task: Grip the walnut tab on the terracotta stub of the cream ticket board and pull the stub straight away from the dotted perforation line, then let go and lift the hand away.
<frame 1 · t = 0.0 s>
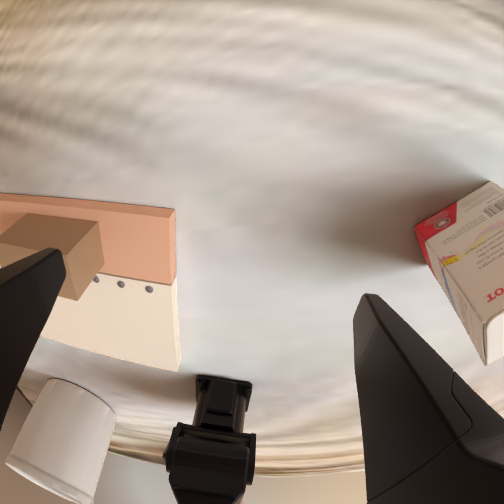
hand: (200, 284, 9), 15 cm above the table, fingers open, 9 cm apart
ink box: (459, 221, 22), on the table
stub: (53, 248, 23), point 3 cm above the table, slide at 0.0 cm
ticket board: (89, 306, 30), on the table
utensil holder: (81, 402, 44), on the table
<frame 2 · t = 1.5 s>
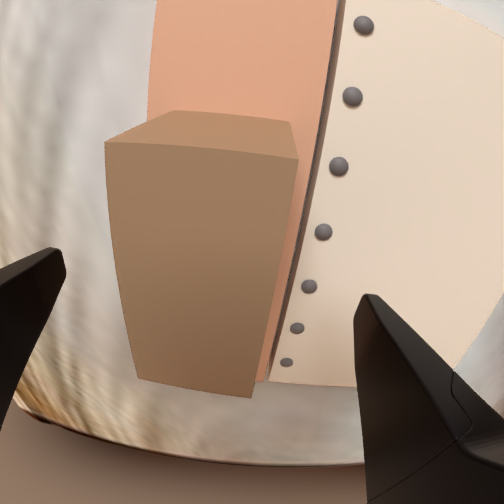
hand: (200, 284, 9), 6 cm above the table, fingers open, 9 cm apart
stub: (212, 241, 11), point 3 cm above the table, slide at 0.0 cm
ticket board: (424, 233, 14), on the table
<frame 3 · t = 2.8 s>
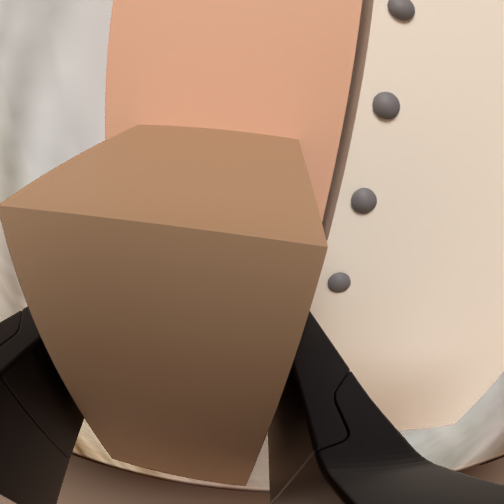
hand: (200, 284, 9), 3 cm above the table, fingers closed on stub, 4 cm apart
stub: (193, 305, 8), point 3 cm above the table, slide at 0.0 cm, touching gripper
ticket board: (454, 273, 11), on the table
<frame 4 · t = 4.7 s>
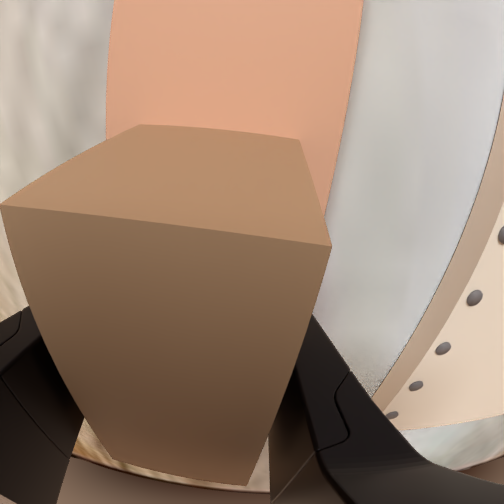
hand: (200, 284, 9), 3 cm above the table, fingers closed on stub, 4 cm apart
stub: (194, 305, 8), point 3 cm above the table, slide at 5.5 cm, touching gripper
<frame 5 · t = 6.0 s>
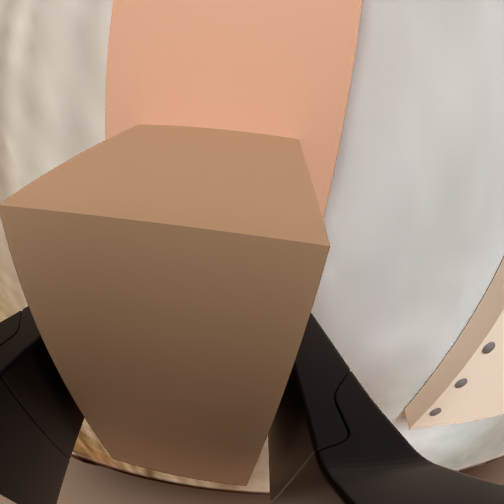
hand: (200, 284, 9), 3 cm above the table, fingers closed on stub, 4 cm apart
stub: (194, 304, 8), point 3 cm above the table, slide at 8.4 cm, touching gripper
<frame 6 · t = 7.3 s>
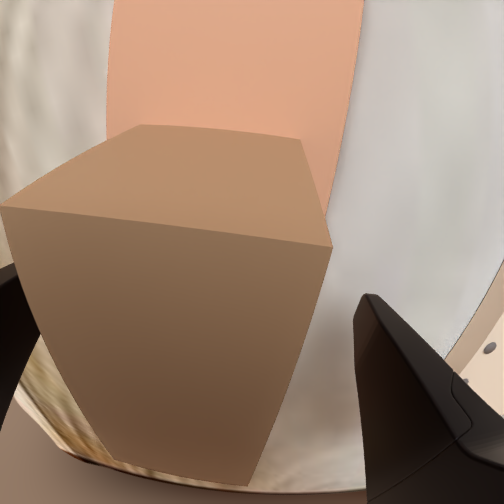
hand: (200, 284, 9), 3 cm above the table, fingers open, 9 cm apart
stub: (195, 305, 8), point 3 cm above the table, slide at 8.4 cm
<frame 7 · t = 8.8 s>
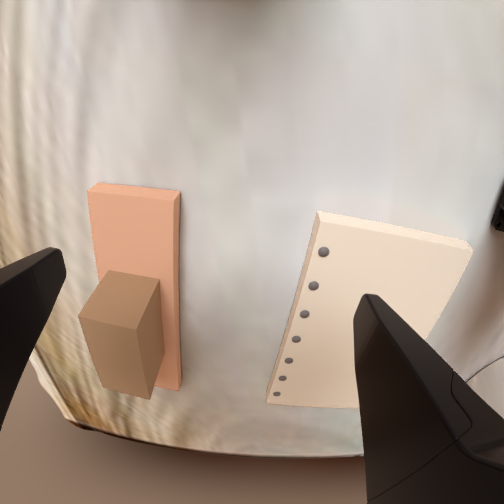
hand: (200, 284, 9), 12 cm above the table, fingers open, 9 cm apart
stub: (130, 330, 22), point 3 cm above the table, slide at 8.4 cm
ticket board: (356, 331, 25), on the table
utensil holder: (492, 383, 31), on the table
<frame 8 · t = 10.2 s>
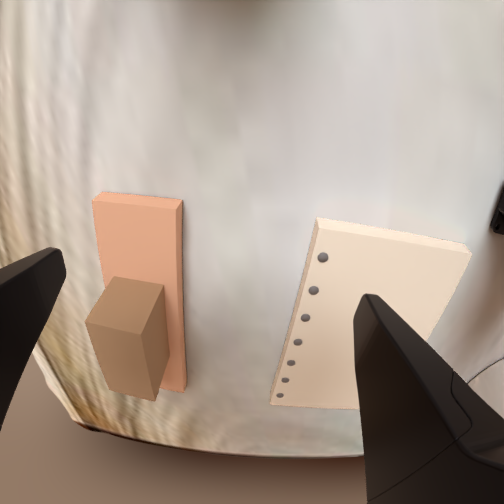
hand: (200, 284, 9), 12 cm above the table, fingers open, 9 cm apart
stub: (136, 334, 23), point 3 cm above the table, slide at 8.4 cm
ticket board: (357, 334, 26), on the table
utensil holder: (494, 384, 31), on the table
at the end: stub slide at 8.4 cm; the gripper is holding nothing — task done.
